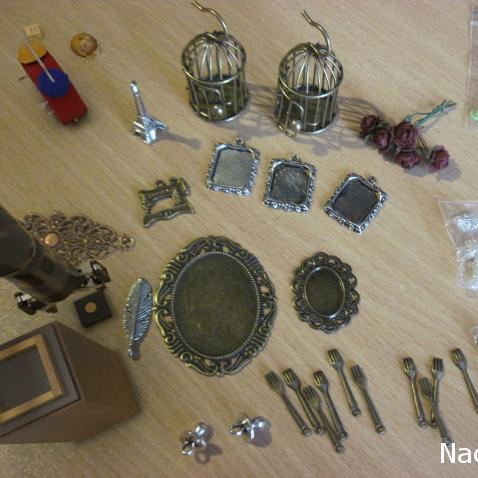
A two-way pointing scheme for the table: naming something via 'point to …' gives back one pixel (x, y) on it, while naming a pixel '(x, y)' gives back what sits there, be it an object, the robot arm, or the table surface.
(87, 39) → the fruit
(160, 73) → the table surface
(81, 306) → the dark brown block
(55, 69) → the red and blue toy
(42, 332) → the stand
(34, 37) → the alphabet block
